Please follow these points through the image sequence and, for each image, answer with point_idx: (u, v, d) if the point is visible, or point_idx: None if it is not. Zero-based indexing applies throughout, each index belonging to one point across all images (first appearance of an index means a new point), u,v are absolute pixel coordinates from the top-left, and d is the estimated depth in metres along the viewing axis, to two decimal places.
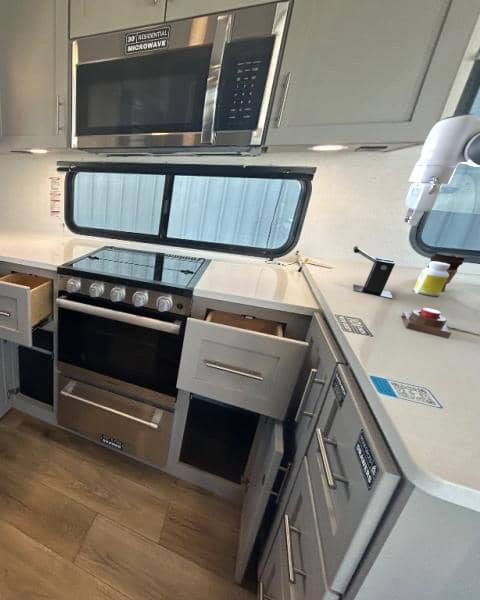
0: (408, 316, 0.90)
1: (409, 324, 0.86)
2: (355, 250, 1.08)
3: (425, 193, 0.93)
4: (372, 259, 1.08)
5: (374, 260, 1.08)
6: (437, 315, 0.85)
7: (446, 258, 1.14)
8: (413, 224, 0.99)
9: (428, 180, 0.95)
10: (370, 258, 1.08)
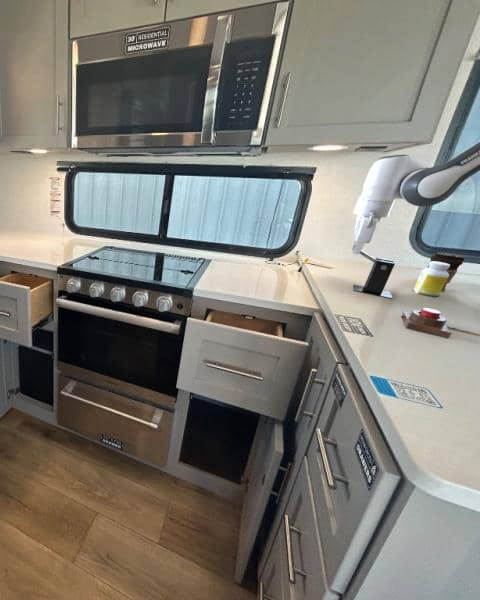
0: (408, 316, 0.90)
1: (409, 324, 0.86)
2: None
3: (364, 226, 1.00)
4: (372, 259, 1.08)
5: (374, 260, 1.08)
6: (437, 315, 0.85)
7: (446, 258, 1.14)
8: (356, 253, 1.07)
9: (368, 214, 1.03)
10: (370, 258, 1.08)
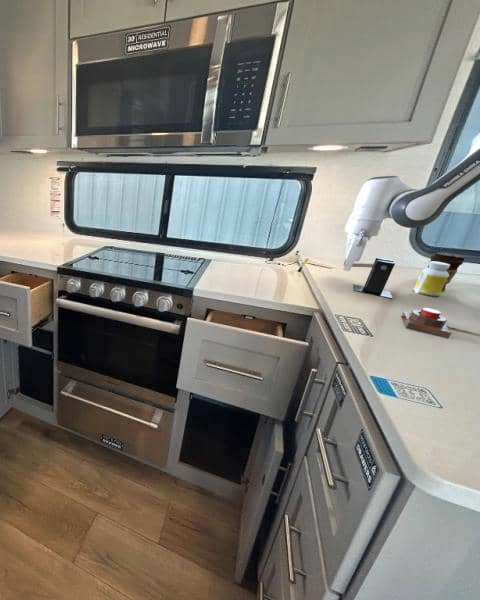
0: (408, 316, 0.90)
1: (409, 324, 0.86)
2: None
3: (354, 245, 1.03)
4: (368, 265, 1.09)
5: (371, 265, 1.08)
6: (437, 315, 0.85)
7: (446, 258, 1.14)
8: (347, 270, 1.10)
9: (359, 232, 1.05)
10: (366, 265, 1.09)
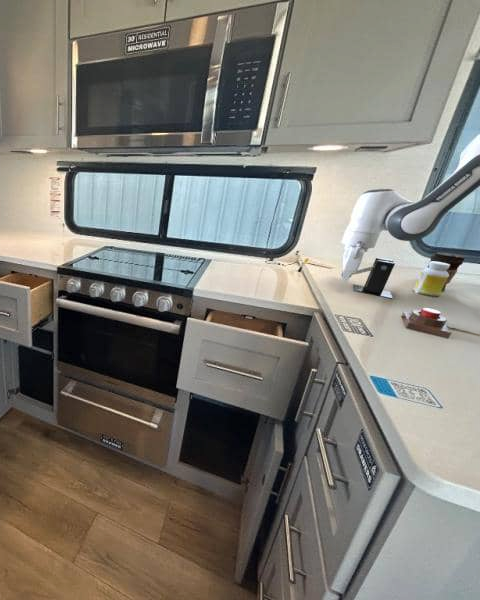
0: (408, 316, 0.90)
1: (409, 324, 0.86)
2: None
3: (351, 257, 1.04)
4: (368, 269, 1.09)
5: (371, 268, 1.09)
6: (437, 315, 0.85)
7: (446, 258, 1.14)
8: (344, 281, 1.11)
9: (355, 244, 1.06)
10: (366, 270, 1.10)
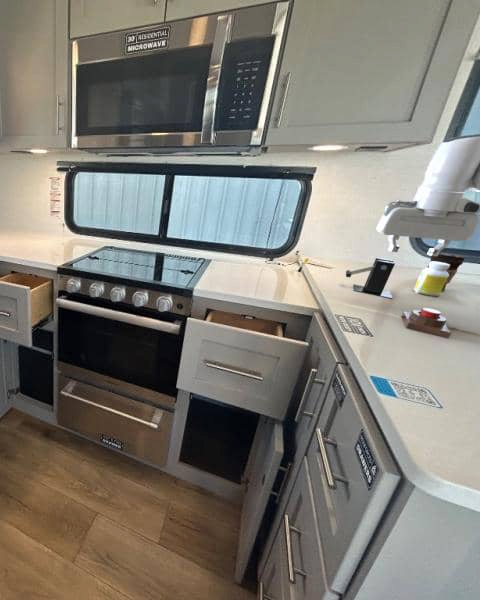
0: (408, 316, 0.90)
1: (409, 324, 0.86)
2: (347, 275, 1.11)
3: (384, 215, 0.91)
4: (368, 269, 1.09)
5: (371, 268, 1.09)
6: (437, 315, 0.85)
7: (446, 258, 1.14)
8: (390, 250, 0.93)
9: None
10: (366, 270, 1.10)
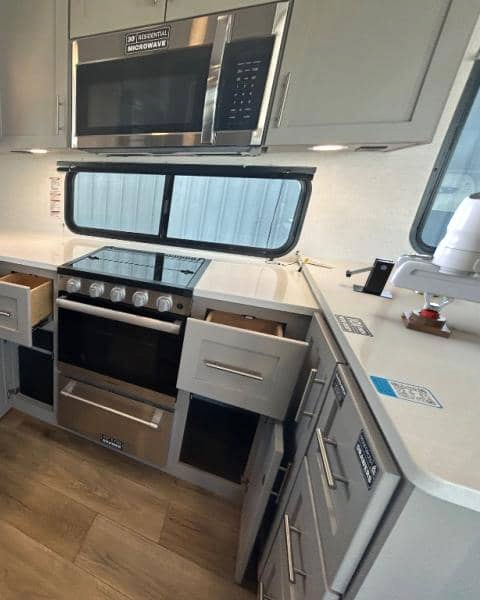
0: (408, 316, 0.90)
1: (409, 324, 0.86)
2: (347, 275, 1.11)
3: (398, 267, 0.89)
4: (368, 269, 1.09)
5: (371, 268, 1.09)
6: (437, 315, 0.85)
7: None
8: (424, 308, 0.87)
9: None
10: (366, 270, 1.10)
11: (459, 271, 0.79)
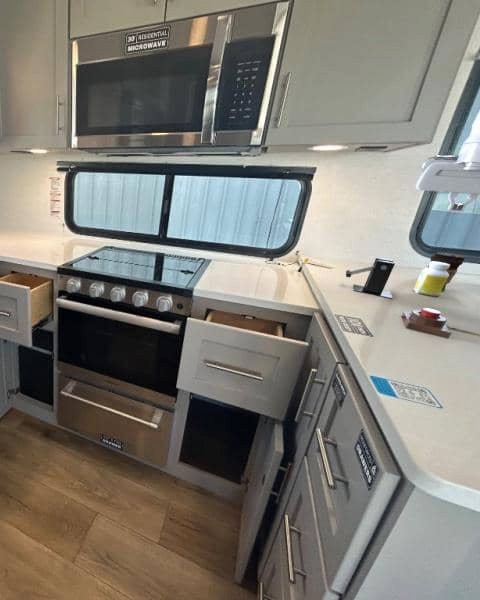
0: (408, 316, 0.90)
1: (409, 324, 0.86)
2: (347, 275, 1.11)
3: (423, 171, 0.93)
4: (368, 269, 1.09)
5: (371, 268, 1.09)
6: (437, 315, 0.85)
7: (446, 258, 1.14)
8: (448, 209, 0.92)
9: None
10: (366, 270, 1.10)
11: None
